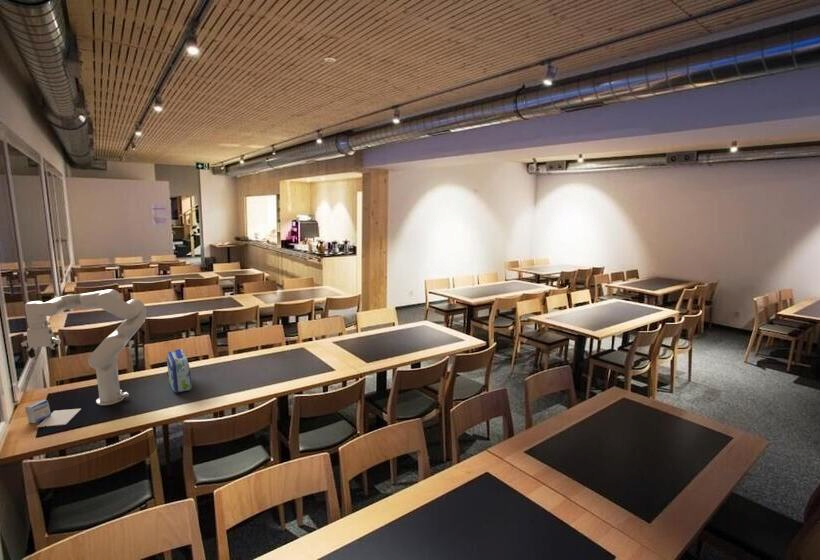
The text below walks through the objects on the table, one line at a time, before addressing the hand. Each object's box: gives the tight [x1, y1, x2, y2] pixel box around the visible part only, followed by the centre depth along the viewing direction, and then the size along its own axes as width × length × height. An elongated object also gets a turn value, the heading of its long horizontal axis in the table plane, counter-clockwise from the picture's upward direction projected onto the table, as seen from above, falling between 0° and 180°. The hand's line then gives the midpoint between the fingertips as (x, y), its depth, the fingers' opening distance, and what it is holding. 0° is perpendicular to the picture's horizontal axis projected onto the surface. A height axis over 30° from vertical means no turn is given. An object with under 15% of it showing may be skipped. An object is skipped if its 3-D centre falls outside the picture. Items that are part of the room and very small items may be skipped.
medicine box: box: [24, 399, 52, 424], centre depth 214 cm, size 8×4×9 cm, turn 168°
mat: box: [36, 408, 82, 428], centre depth 217 cm, size 12×16×1 cm
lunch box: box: [166, 348, 193, 394], centre depth 253 cm, size 26×11×21 cm, turn 35°
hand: (43, 356), depth 222 cm, fingers open, 9 cm apart
